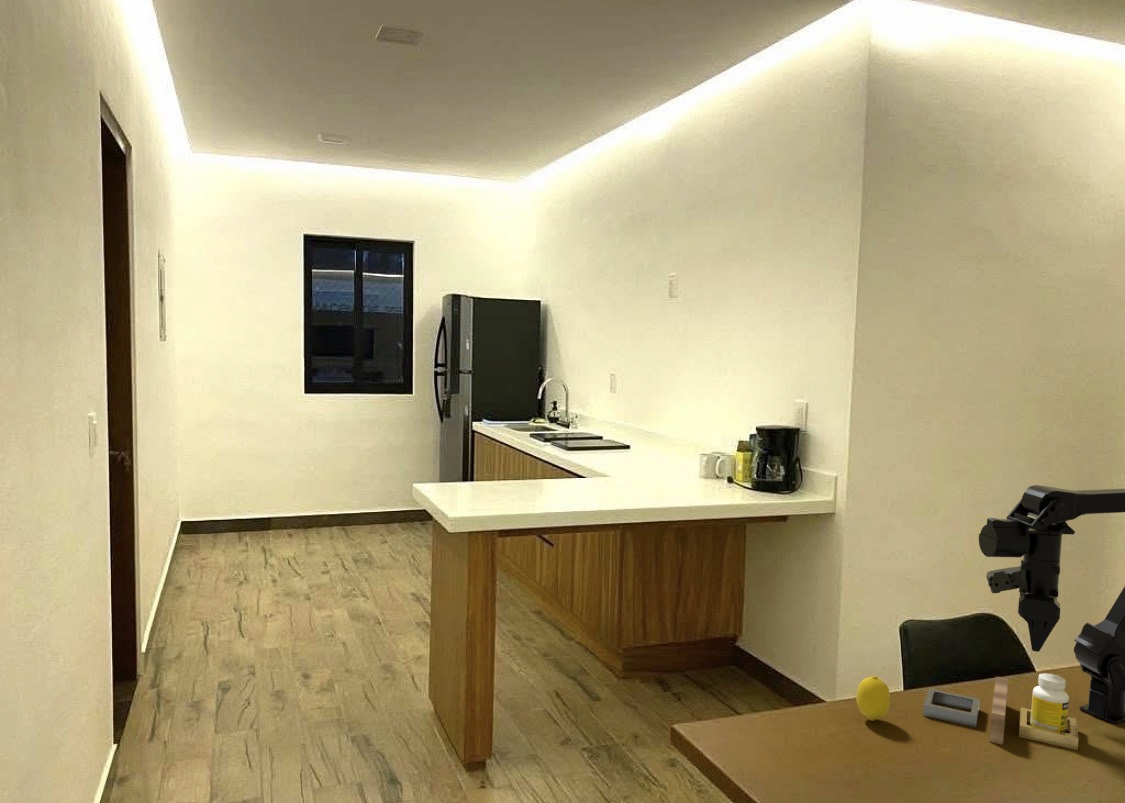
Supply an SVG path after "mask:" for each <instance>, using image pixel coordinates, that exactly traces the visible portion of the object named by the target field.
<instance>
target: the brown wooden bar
mask: <svg viewBox="0 0 1125 803" xmlns="http://www.w3.org/2000/svg"><path fill="white" fill-rule="evenodd" d="M1008 687H1009V679H1008V678H1005V677H1000V676H995V682H994V690H993V697H992V706H991V715H990V728H989V743H993V744H998V745H1001V746H1003V745H1004V736H1005V728H1006V726H1005V725H1006V713H1007V704H1008V703H1007V701H1008Z"/></svg>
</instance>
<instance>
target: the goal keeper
mask: <svg viewBox="0 0 1125 803" xmlns="http://www.w3.org/2000/svg"><path fill="white" fill-rule="evenodd" d="M1030 719H1031V709H1029V708H1026V707H1020V711H1019V726H1018V727H1019V729H1018V731H1019V732H1018V737H1019V738H1022V739H1026V740H1031V741H1035V742H1041V743H1044V744H1047V745H1048V744H1049V745H1052V746H1057V747H1062V748H1066V749H1071V750H1075V751H1078V748H1079V730H1078V721H1077V718H1075V717H1074V718H1073V717H1067V729H1066V733H1062V732H1058V731H1053V730H1048V729H1044V728H1039V727H1034V726H1030V724H1028V723H1030ZM1067 731H1068V733H1067Z"/></svg>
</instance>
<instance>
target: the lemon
mask: <svg viewBox="0 0 1125 803" xmlns="http://www.w3.org/2000/svg"><path fill="white" fill-rule="evenodd" d="M855 698H856V704H857V708H858V709H859V711H860V712H861V714H862V715H863V716H865V717H867V718H868V719H869V721H872V722H874V721H875V720H877V719H880V718H881V719H882V718H883V717H884V716H885V715H887V713H888V711H889V709H890V705H891V693H890V690H889V687H888V685H887V684H886V682H884V681H883V680H882V679H881V678H879V677H878V676H876V675H872V676H869V677H866V678H864V679H863V680H861V681H860V683H859V685H858V687H857V690H856V697H855Z"/></svg>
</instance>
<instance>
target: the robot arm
mask: <svg viewBox="0 0 1125 803" xmlns="http://www.w3.org/2000/svg"><path fill="white" fill-rule="evenodd" d="M1115 513H1117V514H1119V513H1125V488H1110V489H1109V488H1107V489H1082V490H1073V489H1072V490H1071V489H1065V488H1060V487H1052V486H1046V485H1039V484H1034V485H1031V486H1028V487H1027V489H1025V491H1024V493H1023V494H1022V496H1021V499H1020V501H1018V502H1017V504H1016V505H1015V506H1014V507H1013V509H1012V510H1011V511H1010V512H1009V514H1008V515H1007V516H1006V519H1004V518H1003V519H1002V518H1001V519H1000V518H996V517H988V518H987V520H986V524H985V525H983V526H982V527H981V530H980V532H979V534H978V544H979V549H980V551H981V553H982V554H983V556H985V557H987V558H1022V557H1023V558H1022V559H1020V566H1015V567H1014V566H1011V567H1005V568H999V569H994V570H989V571H987V572H986V580H987V583H988V587H989V588H990V592H991V594H999V593H1001V592H1005V591H1011V590H1017V589H1018V593H1019V597H1018V608H1017V614H1018V616H1020V617H1021V618H1022V619H1023V620H1024V621H1025V622H1026V624H1027V627H1028V633H1029V638H1030V639H1029V640H1030V646H1031V651H1032V652H1037V653H1039V652H1040V651H1041V649H1042V647H1043V646H1044V644H1045V643H1046V641H1047V639H1048V638H1049V636H1050V634H1051V633H1052V631H1053V630H1054V628H1055V627H1056V625H1057V624H1058V622H1059V620H1060V619H1061V618H1060V617H1061V604H1060V603H1059V601H1058V599H1057V598H1059V583H1060V581H1059V580H1060V575H1061V557H1062V556H1061V555H1062V554H1061V553H1062V542H1063V541H1062V540H1063V535H1075V533H1076V531H1075V530H1074V529H1073V528H1072V527H1071V526H1069V524H1068V523H1067V522H1070V521H1073V520H1075V519H1077V518H1079V517H1081V516H1084V515H1095V514H1115ZM1033 517H1034V518H1033ZM1116 598H1117V599H1116V600H1115V602H1114V603H1113V605H1112V606H1111V608H1110V609H1109V611H1108V613H1107V615H1106V616H1105V618H1104V619H1103V620H1101V621H1100V622H1098V623H1096V624H1095V625H1093V624H1092V623H1089V622H1086V623H1085V624H1084V625H1083V626H1082V628H1081V632H1080V633H1079V635H1078V636H1077V637H1076V638H1074V640H1073V641H1074V642H1076V643H1075V645H1074V648H1073V653H1074V656H1075V659H1076V660H1077V662H1078V663H1079V665H1080V668H1081V672H1083V673H1085V674H1087V675H1089V676H1090V681H1089V691H1088V692H1089V693H1088V703H1087V704H1084V705H1080V706H1079V708H1078V709H1079V711H1081V712H1085V713H1086V714H1087V713H1088V714H1089V715H1092V716H1095V717H1098V718H1099V719H1103V720H1105V721H1107V722H1110V723H1113V724H1118V723H1122V722H1125V585H1124V587H1123V588H1122V590H1121V591H1120V593H1119V594H1118V597H1116Z"/></svg>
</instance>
